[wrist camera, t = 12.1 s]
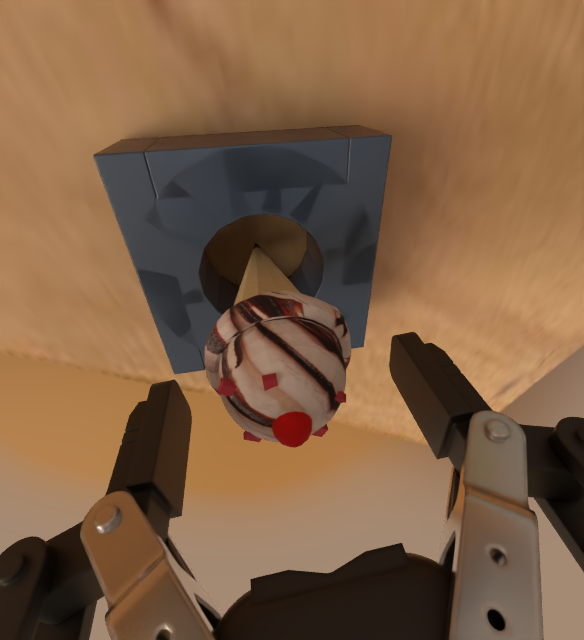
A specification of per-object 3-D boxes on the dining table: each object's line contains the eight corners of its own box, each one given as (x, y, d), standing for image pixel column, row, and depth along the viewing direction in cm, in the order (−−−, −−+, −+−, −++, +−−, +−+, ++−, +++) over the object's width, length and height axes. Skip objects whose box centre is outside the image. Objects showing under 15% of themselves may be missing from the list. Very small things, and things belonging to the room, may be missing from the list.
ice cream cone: (313, 224, 21) (429, 406, 9) (274, 292, 24) (324, 502, 12) (233, 183, 19) (249, 354, 7) (199, 263, 21) (168, 488, 9)
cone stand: (359, 125, 18) (392, 134, 14) (344, 311, 26) (363, 347, 22) (120, 139, 17) (91, 154, 13) (181, 332, 24) (174, 374, 21)
